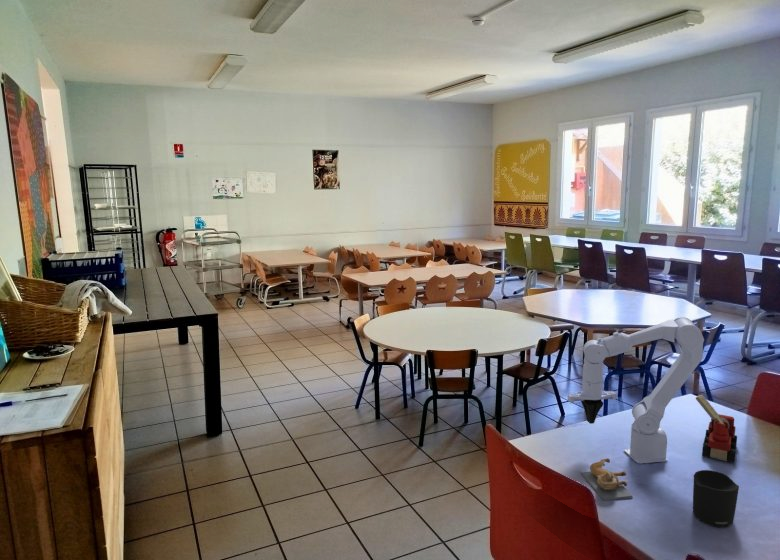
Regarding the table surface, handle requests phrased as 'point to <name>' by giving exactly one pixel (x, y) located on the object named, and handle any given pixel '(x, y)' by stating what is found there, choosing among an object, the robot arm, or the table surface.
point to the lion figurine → (606, 476)
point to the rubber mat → (606, 494)
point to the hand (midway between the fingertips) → (590, 422)
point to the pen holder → (714, 498)
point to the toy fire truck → (718, 434)
